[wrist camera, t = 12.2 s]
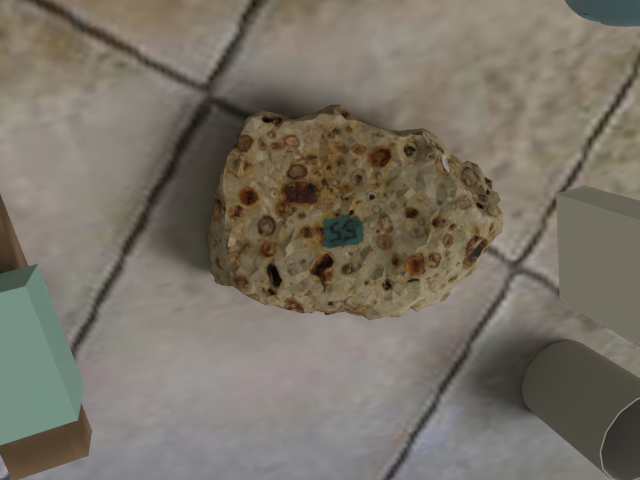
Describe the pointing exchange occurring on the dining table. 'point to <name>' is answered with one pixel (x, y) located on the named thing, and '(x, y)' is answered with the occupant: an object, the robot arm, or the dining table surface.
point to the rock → (347, 216)
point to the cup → (588, 405)
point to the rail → (54, 443)
